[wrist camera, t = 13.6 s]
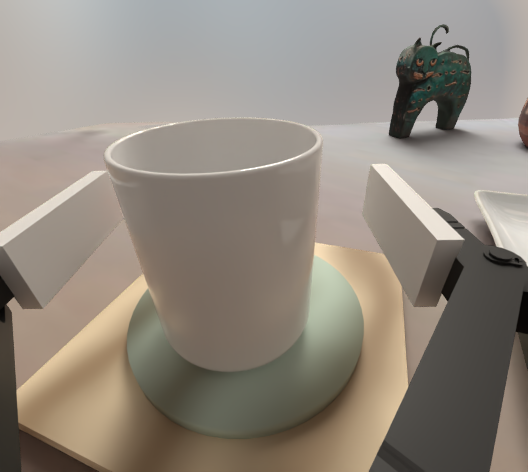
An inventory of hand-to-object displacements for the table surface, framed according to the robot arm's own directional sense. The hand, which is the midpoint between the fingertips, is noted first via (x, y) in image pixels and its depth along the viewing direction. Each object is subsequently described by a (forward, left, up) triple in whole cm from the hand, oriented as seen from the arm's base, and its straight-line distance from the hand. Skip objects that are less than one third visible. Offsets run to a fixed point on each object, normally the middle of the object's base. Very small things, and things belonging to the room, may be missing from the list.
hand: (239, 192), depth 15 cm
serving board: (0, 0, -11) cm, 11 cm away
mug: (-1, 0, -8) cm, 8 cm away
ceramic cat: (+16, +64, -11) cm, 67 cm away
